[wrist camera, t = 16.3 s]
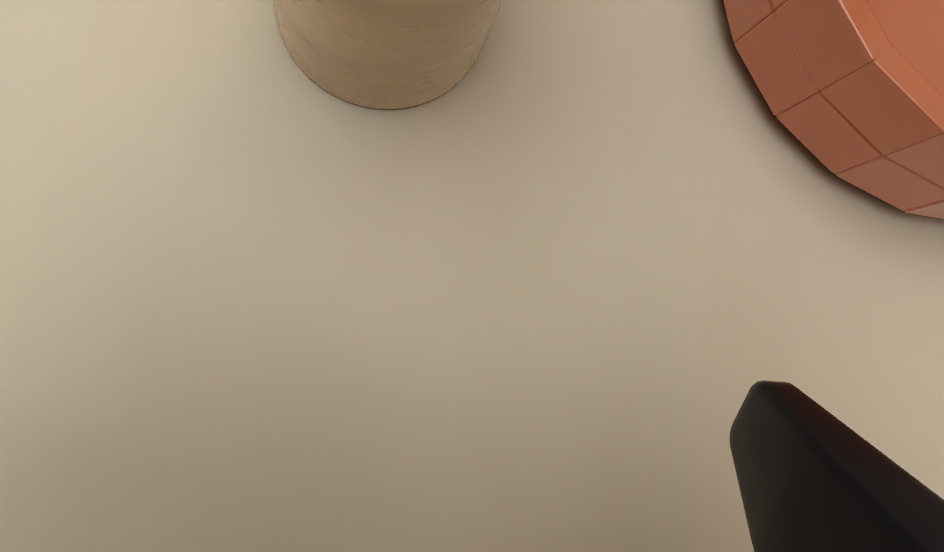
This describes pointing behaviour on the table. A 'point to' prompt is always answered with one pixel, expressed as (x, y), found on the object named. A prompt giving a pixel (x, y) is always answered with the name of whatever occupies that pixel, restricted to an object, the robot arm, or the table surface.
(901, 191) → the dish
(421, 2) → the pen cup
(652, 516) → the table surface
